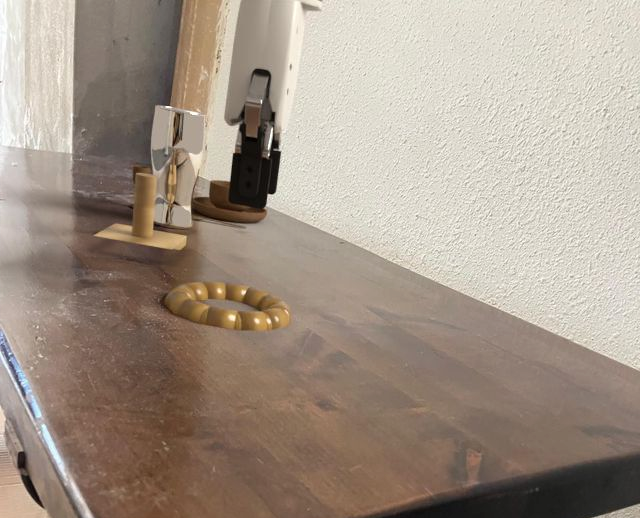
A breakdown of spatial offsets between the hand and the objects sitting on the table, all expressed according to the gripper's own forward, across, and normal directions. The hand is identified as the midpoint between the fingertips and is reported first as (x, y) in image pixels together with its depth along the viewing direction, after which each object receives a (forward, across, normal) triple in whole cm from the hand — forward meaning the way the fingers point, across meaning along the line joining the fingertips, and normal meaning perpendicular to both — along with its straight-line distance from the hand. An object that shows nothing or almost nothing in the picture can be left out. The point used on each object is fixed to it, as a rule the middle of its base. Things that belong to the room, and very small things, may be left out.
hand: (253, 198), depth 67 cm
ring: (+9, +4, -1) cm, 10 cm away
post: (+10, -20, -15) cm, 27 cm away
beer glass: (+10, -37, -15) cm, 41 cm away
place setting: (+11, -52, -13) cm, 54 cm away
